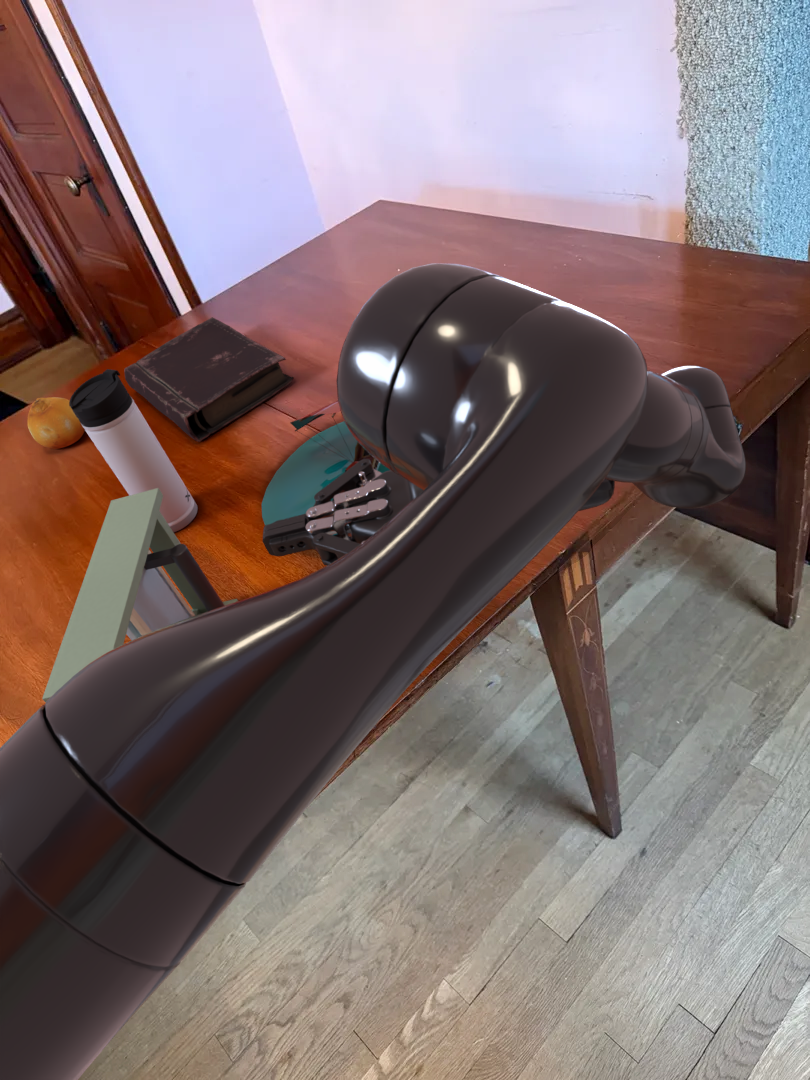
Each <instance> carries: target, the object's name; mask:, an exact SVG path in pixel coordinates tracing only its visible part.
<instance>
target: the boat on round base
mask: <svg viewBox="0 0 810 1080" xmlns="http://www.w3.org/2000/svg"><path fill="white" fill-rule="evenodd" d="M337 413H341V411H340V407H339V403H338V400H336V401H334V402H331V403H329V404H327V405H325V406H322V407H320V408H318V409H317V410H314V411H312V412H310V413H308V414H305V415H304V416H301V417H299V418H297V419H294V420H292V421H290V422H289V424H290V425H292V426H293V427H294V429H295V430H294V432H298V433H299V434H301V435H303V436H305V437H306V438H307V440H305V442H304V443H302V444H301V445H300V446H299V447H298V448H297V449H296V450H295V451H294V452H292V453H291V454H290V456H289V457H287V459H286V460H285V461H284V462H283V463H282V464H281V466H280V467H279V468H278V469H277V470H276V472H275V473H274V475H273V477H272V478H271V480H270V481H269V483H268V485H267V486H266V489H265V492H264V495H263V498H262V501H261V518H262V521H263V523H264V527H265V526H266V525H268V524H272V523H274V522H276V521H278V520H282V519H283V520H284V519H286V518H290V517H294V516H298V515H302V514H306V512H307V510H308V509H309V508H311V507H313V506H314V504H315V502H316V501H315V499H314V496H315V494H316V493H318V492H319V491H320V490H322V489H323V488H324V487H326V486H327V485H328V484H330V483H331V482H332V481H334V480H335V479H336V478H338V477H339V476H340V475H342V474H343V473H344V472H346V471H347V470H348V469H350V468H351V467H352V466H354V465H355V464H356V463H358V462H359V461H360V460H362V459H369V460H370V461H371V463H372V466H373V469H375V470H377V471H379V472H381V473H384V472H386V471H390V469H388V468H387V467H385V466H384V465H382V464H381V463H380V462H378V461H377V460H376V459H374V458H373V457H372V456H371V455H370V454H369V453H368V452H367V451H366V450H365V449H364V448H363V447H362V446H361V445H360V444H359V443H358V441H357V440H356V439H355V438H354V437H353V436H352V434H351V432H350V431H349V429H348V427H347V425H346V423H345V422H344V420H343V421H341V422H338V423H337V422H336V420H335V419H334V418H335V416H336V414H337ZM329 414H332V415H331V418H332V419H333V421H334V423H335V425H332V426H330V427H328V428H326V429H324V430H322V431H320V432H318V433H317V432H316V431H314V430H313V429H312V428H311V427H309V429H310V430H312V431H313V432H314V433H316V434H315V435H313V436H311V437H309V436H307V435H305V434H303V433H301V432H300V431H298V430H301V429H302V428H303V427H305V426H306V427H308V425H309V424H310V423H312V422H313V421H316V420H317V419H319V418H320V417H321V418H322V417H323V416H325V415H329ZM339 494H340V493H339ZM332 500H333V498H332V499H331V501H332ZM334 535H337V534H334Z"/></svg>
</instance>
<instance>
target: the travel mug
mask: <svg viewBox="0 0 810 1080" xmlns="http://www.w3.org/2000/svg"><path fill="white" fill-rule="evenodd" d="M119 376H121V373H120V372H119V370H117V369H112V368H111V369H110V368H106V369H105V370H104V371H103V372H102V373H98V374H97V375H94V376H93V377H91V378H89V379H88V380H85V382H83V383H81V385H79V386H78V387H77V388H76V389H75V391H74V392H73V393H72V394H71V397H70V398H69V400H70V402H69V406H70V407H71V409H72V410H73V412H74V414H75V415H76V417H77V418H78V419H79V421H80V423H81V425H82V426H83V428H84V429H85V431H84V432H86V434H87V435H88V437H89V438H90V440H91V441H92V443H93V444H94V446H95V447H96V449H97V451H98V452H99V453H100V455H101V456H102V457H103V459H104V461H105V462H106V464H107V465H108V466H109V468H110V470H111V471H112V472H113V474H114V476H115V477H116V478H117V479H118V481H119V482H120V484H121V485H122V487H123V489H124V490H125V492H126V493H127V494H128V496H130V495H134V494H138V493H141V492H145V491H149V490H153V489H156V488H159V490H160V491H161V493H162V494H163V499H162V502H161V506H160V510H159V511H160V513H161V514H162V516H163V517H164V519H165V520H166V522H167V523H168V525H169V526H170V528H171V529H172V531H173V532H174V533H176V532H179V531H181V530H183V529H185V527H187V526H188V525H189V524H190V523H192V521H193V520H194V519H195V517H196V516H197V513H198V509H199V508H198V505H197V503H196V501H195V499H194V498H193V496H192V494H191V493H190V491H189V489H188V487H187V486H186V485H185V483H184V481H183V480H182V478H181V477H180V474H179V473H178V471H177V470H176V468H175V466H174V465H173V463H172V462H171V460H170V458H169V456H168V454H167V453H166V451H165V450H164V448H163V446H162V445H161V443H160V441H159V440H158V438H157V436H156V435H155V433H154V432H153V430H152V428H151V426H149V424H148V422H147V420H146V419H145V417H144V415H143V414H142V412H141V410H140V409H139V407H138V405H137V404H136V402H135V400H134V399H133V397H132V396H131V395H130V393H129V391H128V390H127V388H126V386H125V384H124V383H123V381H122V380H121V378H120V377H119Z"/></svg>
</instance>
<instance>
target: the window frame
mask: <svg viewBox="0 0 810 1080" xmlns="http://www.w3.org/2000/svg"><path fill="white" fill-rule="evenodd" d="M162 499H163V494H162V493H161V491H160V490H159V488H156V489H153V490H149V491H145V492H141V493H138V494H134V495H130V496H129V495H127V496H123V497H119V498H116V499H112V500H110V502H109V506H108V509H107V512H106V515H105V517H104V520H103V523H102V525H101V528H100V530H99V531H100V532H99V534H98V537H97V540H96V543H95V546H94V548H93V552H92V554H91V558H90V561H89V563H88V565H87V568H86V572H85V575H84V578H83V581H82V583H81V586H80V589H79V592H78V595H77V598H76V600H75V603H74V606H73V609H72V612H71V615H70V618H69V621H68V624H67V627H66V629H65V632H64V635H63V638H62V641H61V644H60V646H59V650H58V652H57V655H56V658H55V660H54V663H53V667H52V670H51V672H50V675H49V677H48V681H47V684H46V687H45V688H44V689H45V690H44V693H43V695H42V698H41V700H42V701H44V703H46V702H47V700H48V699H49V698H50V697H51V696H52V695H53V694H54V693H56V692H57V691H58V690H59V689H60V688H61V687H62V686H63V685H64V684H65V683H66V682H68V681H69V680H70V679H71V678H72V677H73V676H74V675H75V674H77V673H78V672H79V671H81V670H82V669H83V668H84V667H86V666H87V665H88V664H90V663H91V662H93V661H94V660H96V659H97V658H99V657H101V656H102V655H104V654H105V653H107V652H109V651H111V650H113V649H115V648H117V647H119V646H121V645H123V644H125V639H126V637H128V638H129V639H130V641H132V640H134V639H136V638H138V637H140V636H142V635H141V634H140V632H139V631H138V630H137V629H136V627H135V626H134V625H133V624H132V622H131V621H130V618H131V614H132V610H133V606H134V603H135V599H136V595H137V592H138V588H139V584H140V580H141V577H142V573H143V569H144V566H145V562H146V558H147V554H148V551H149V550H150V551H151V552H152V553H155V552H159V551H162V550H166V549H170V548H173V547H174V546H176V545H178V544H182V543H181V542H180V539H178V537H177V535H176V534H175V532H173V531H172V529H171V528H170V526H169V525H168V523H167V522H166V520H165V519H164V517H163V516H162V514H161V513H160V511H159V510H160V506H161V502H162ZM162 567H163V570H164V571H165V572H166V574H167V575H168V577H169V578H170V580H171V581H172V582H173V584H174V585H175V587H176V588H177V590H178V591H179V592H180V594H181V595H182V597H183V598H184V600H185V601H186V603H187V604H188V605H189V607H190V608H191V610H192V611H193V613H194V614H195V616H196V615H199V614H202V613H205V612H208V611H207V609H206V608H205V606H204V605H203V603H202V602H201V600H200V599H199V597H198V596H197V594H196V593H195V591H194V590H193V588H192V587H191V585H190V584H189V583H188V581H187V580H186V578H185V577H184V575H183V574H182V572H181V571H180V569H179V568H178V566H177V565H176V563H172V564H168V565H164V566H162ZM238 601H239V599H238V598H234V599H233V598H232V599H229V600H224V601H222V602H223V604H224V605H225V606H226V605H229V604H232V603H235V602H238Z"/></svg>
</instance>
